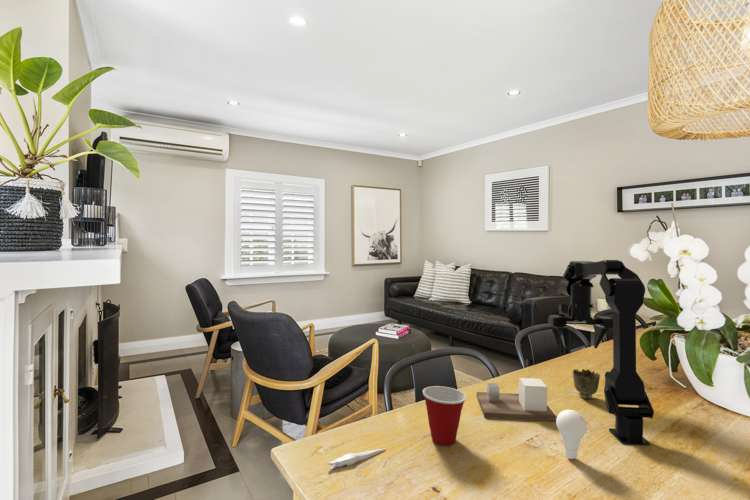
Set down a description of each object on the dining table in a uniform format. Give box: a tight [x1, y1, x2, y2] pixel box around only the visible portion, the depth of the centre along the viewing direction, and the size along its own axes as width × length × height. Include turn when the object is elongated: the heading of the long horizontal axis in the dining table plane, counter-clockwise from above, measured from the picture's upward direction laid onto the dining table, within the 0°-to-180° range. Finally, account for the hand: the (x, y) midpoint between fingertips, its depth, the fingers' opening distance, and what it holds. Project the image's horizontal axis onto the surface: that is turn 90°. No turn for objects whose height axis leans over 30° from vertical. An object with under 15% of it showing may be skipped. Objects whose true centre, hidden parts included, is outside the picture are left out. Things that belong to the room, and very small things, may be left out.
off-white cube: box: [518, 377, 548, 411], centre depth 108 cm, size 6×6×7 cm
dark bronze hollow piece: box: [572, 368, 601, 400], centre depth 118 cm, size 8×7×8 cm
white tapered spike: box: [327, 448, 387, 470], centre depth 85 cm, size 15×3×2 cm, turn 121°
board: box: [476, 391, 557, 422], centre depth 111 cm, size 14×19×2 cm
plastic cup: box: [422, 385, 468, 447], centre depth 93 cm, size 11×11×12 cm
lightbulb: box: [555, 409, 588, 460], centre depth 85 cm, size 6×6×11 cm
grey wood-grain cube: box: [486, 382, 500, 402], centre depth 113 cm, size 3×3×4 cm
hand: (580, 347), depth 122 cm, fingers open, 9 cm apart
